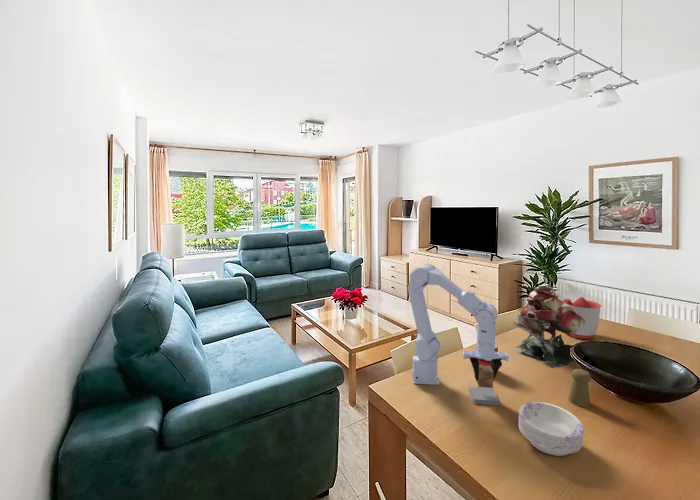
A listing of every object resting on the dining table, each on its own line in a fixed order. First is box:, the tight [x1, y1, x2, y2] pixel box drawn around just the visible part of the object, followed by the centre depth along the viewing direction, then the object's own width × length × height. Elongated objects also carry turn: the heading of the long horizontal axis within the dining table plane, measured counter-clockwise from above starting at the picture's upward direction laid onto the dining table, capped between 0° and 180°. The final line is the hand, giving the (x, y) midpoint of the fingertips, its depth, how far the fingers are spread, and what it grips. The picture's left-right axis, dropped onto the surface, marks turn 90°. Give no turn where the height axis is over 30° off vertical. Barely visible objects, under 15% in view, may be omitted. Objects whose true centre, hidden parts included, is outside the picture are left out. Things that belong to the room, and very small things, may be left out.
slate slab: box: [468, 385, 500, 406], centre depth 113 cm, size 8×8×2 cm
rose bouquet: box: [513, 285, 585, 369], centre depth 147 cm, size 26×29×30 cm
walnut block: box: [475, 365, 494, 388], centre depth 112 cm, size 4×4×6 cm
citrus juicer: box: [562, 296, 602, 340], centre depth 165 cm, size 16×17×20 cm
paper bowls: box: [518, 401, 585, 457], centre depth 91 cm, size 15×15×8 cm
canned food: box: [475, 342, 499, 367], centre depth 131 cm, size 8×8×11 cm
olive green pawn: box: [568, 368, 592, 408], centre depth 109 cm, size 6×6×11 cm
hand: (484, 378), depth 112 cm, fingers closed on walnut block, 4 cm apart
